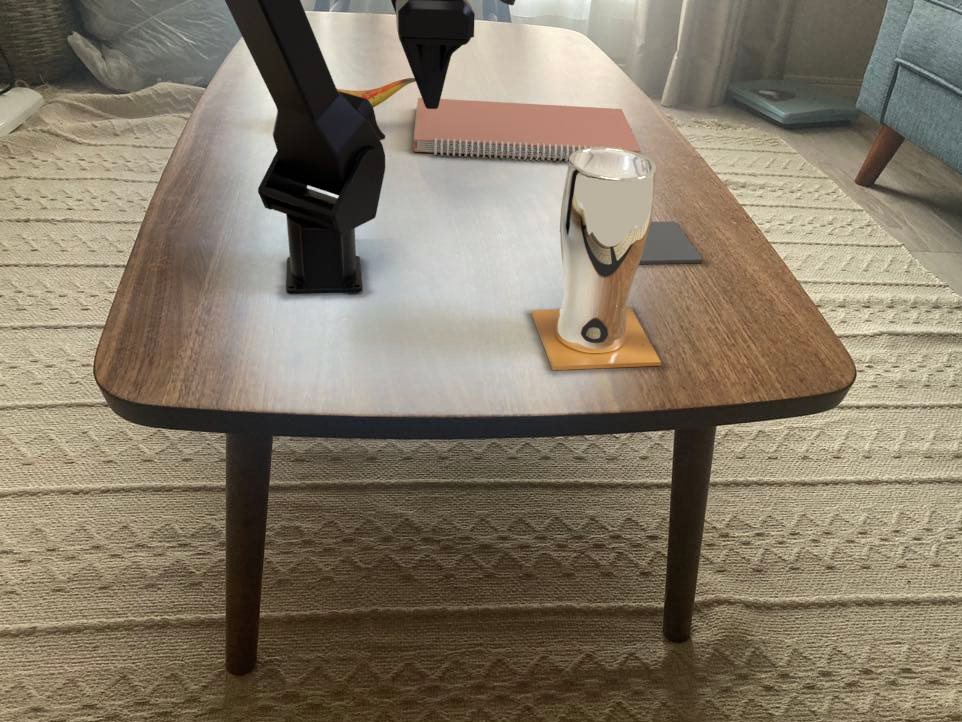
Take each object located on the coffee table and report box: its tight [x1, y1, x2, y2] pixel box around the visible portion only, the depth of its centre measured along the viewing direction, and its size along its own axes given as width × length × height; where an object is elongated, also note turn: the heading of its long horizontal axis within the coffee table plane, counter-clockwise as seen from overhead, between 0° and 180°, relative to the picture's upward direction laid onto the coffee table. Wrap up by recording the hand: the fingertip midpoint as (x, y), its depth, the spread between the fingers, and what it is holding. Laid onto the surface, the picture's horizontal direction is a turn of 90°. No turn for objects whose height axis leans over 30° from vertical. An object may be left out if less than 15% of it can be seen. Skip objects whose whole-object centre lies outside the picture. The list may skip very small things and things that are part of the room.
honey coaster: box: [531, 306, 662, 371], centre depth 78 cm, size 9×9×1 cm
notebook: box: [413, 97, 642, 162], centre depth 117 cm, size 27×17×2 cm, turn 94°
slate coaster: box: [639, 221, 703, 265], centre depth 95 cm, size 9×9×1 cm
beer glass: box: [555, 147, 657, 353], centre depth 74 cm, size 7×7×15 cm
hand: (427, 92), depth 87 cm, fingers open, 9 cm apart
